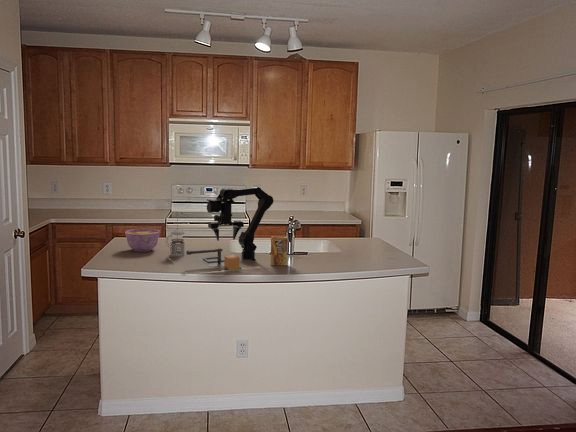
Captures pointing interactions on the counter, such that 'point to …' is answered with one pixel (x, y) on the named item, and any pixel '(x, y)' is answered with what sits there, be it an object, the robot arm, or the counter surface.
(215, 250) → the black knob lever
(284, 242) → the candy box
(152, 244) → the bowl of food
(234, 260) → the orange cube
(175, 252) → the french press
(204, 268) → the counter surface
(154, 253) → the counter surface
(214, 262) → the socket plate
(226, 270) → the pad
